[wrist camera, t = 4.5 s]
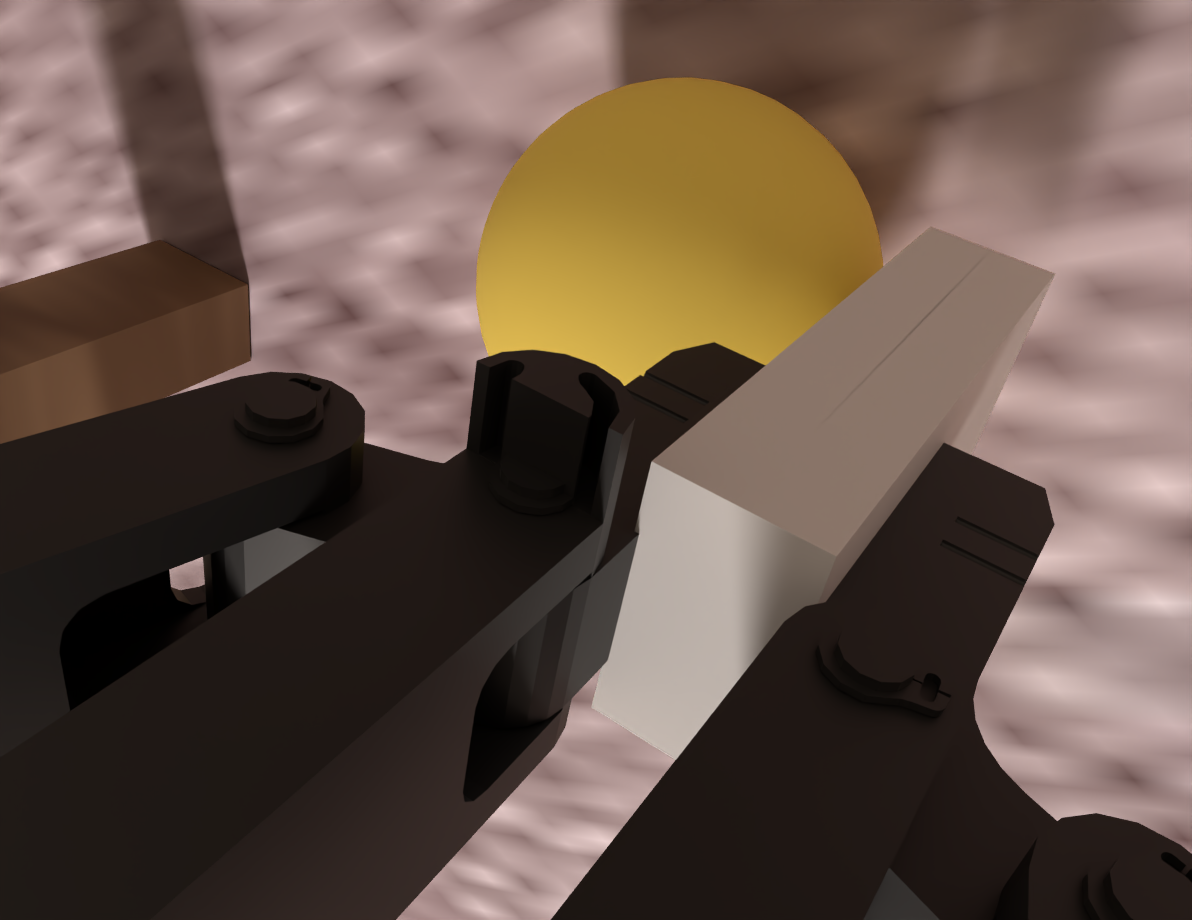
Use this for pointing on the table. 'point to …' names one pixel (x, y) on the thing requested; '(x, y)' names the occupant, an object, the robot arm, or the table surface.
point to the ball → (672, 230)
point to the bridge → (115, 336)
